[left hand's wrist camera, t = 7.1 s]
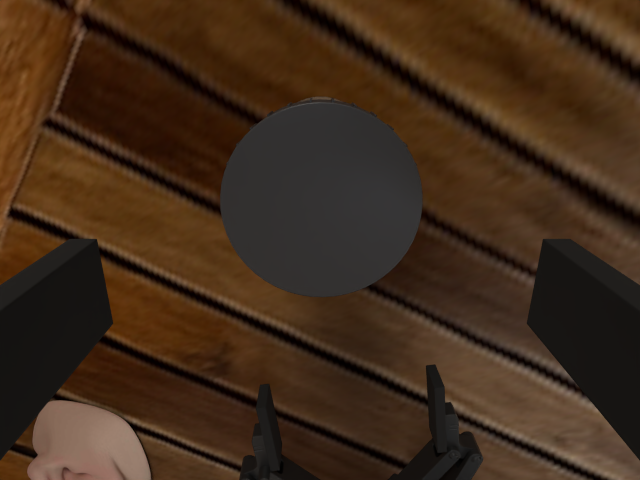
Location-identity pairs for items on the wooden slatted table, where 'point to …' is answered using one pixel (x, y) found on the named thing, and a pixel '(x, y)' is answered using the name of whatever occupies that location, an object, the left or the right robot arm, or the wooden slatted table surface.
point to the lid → (321, 198)
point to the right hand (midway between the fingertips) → (348, 385)
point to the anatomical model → (85, 445)
